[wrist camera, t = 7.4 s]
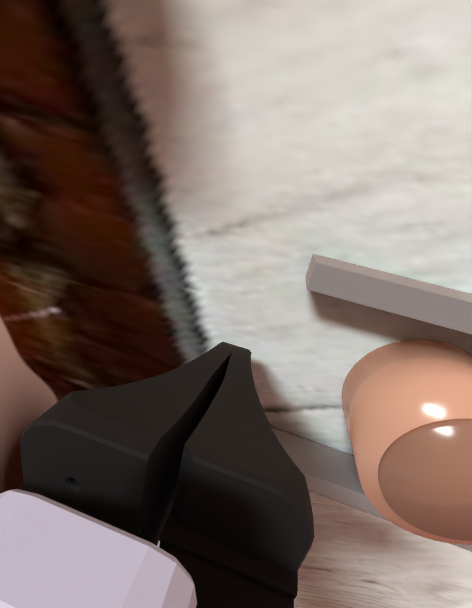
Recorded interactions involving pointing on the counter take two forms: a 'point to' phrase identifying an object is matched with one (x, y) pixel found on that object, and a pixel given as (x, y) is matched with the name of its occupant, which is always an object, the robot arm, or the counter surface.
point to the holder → (385, 296)
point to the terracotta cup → (414, 436)
